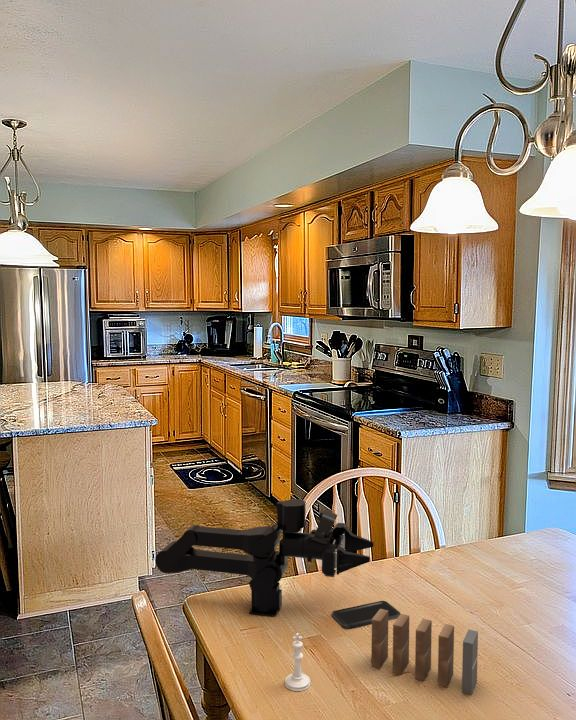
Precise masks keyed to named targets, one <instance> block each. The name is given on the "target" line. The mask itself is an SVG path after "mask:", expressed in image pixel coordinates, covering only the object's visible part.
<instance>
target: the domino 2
mask: <svg viewBox="0 0 576 720" xmlns="http://www.w3.org/2000/svg"><path fill="white" fill-rule="evenodd" d="M409 663H410V615H408V614H404V613H400V616H399V617H398V618H397V619H395V621H394V622H393V624H392V674H395V675H399V676H402V675H403V674H404V672H405V671H406V668H407V667H408V665H409Z"/></svg>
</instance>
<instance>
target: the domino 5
mask: <svg viewBox="0 0 576 720" xmlns="http://www.w3.org/2000/svg"><path fill="white" fill-rule="evenodd" d="M478 639H479V631H476V630H473V629H467V631H466V634H465V636H464V638H463V641H462V667H461V669H462V671H461V672H462V673H461V677H462V679H461V693H462V694H466V695H470V696H472V695H473V693H474V690H475V687H476V685H477V682H478V655H479V654H478V651H479V650H478V649H479V647H478V645H479V642H478V641H479V640H478Z"/></svg>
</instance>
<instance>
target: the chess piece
mask: <svg viewBox="0 0 576 720" xmlns="http://www.w3.org/2000/svg"><path fill="white" fill-rule="evenodd" d="M292 640H293V642H292V648H293V650H294V652H293V653H292V655H291V657H292V658H293V660H294V667H293V672H292V673H291V674H288V675H287V676H286V678H285V682H284V685H285V687H286V688H287V689H288V690H290V691H293V692H301V691H305V690H308V689H309V688H310V686H311V679H310V677H309V676H308V675H307V674H305V673H303V671H302V664H301V659H303V658H304V655H303V653H302V648H303V645H304V643H303V642H302V641H300V640H303V636H302V635H300V634H299V632H297V633H295V636H292Z"/></svg>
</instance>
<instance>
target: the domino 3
mask: <svg viewBox="0 0 576 720" xmlns="http://www.w3.org/2000/svg"><path fill="white" fill-rule="evenodd" d="M432 621H433V620H430V619H425V618H422V619H421V621H420V622H419V624H418V626H417V627H416V629H415V655H414V656H415V657H414V658H415V659H414V661H415V662H414V667H415V668H414V669H415V670H414V680H416V681H420V682H425V681H426V679H427V677H428V675H429V673H430V671H431V669H432V627H433V626H432V625H433V623H432Z"/></svg>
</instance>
